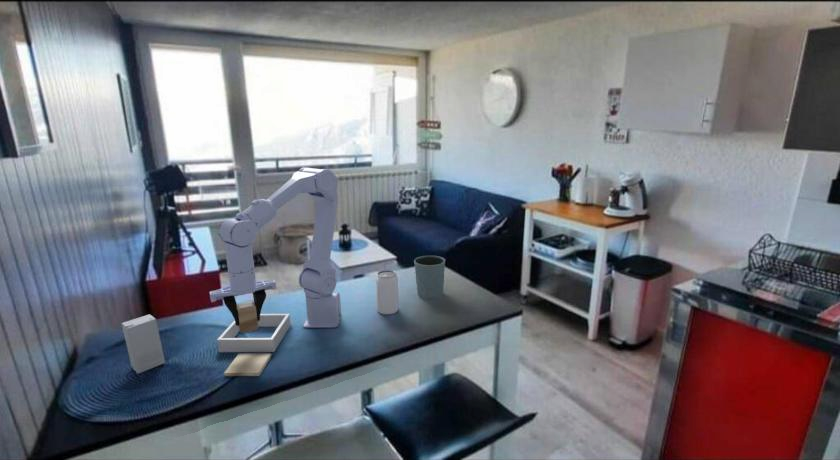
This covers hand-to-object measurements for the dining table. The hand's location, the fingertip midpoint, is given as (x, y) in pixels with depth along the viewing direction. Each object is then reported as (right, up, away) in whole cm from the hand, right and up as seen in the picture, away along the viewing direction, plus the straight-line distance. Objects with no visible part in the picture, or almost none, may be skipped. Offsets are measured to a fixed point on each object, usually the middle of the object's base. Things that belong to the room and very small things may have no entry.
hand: (247, 321), depth 101 cm
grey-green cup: (+45, +1, +37) cm, 59 cm away
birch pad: (+1, -10, -3) cm, 10 cm away
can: (+32, -2, +25) cm, 41 cm away
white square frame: (-2, -7, +10) cm, 12 cm away
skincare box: (-23, -10, -2) cm, 25 cm away
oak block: (0, -2, +1) cm, 2 cm away
